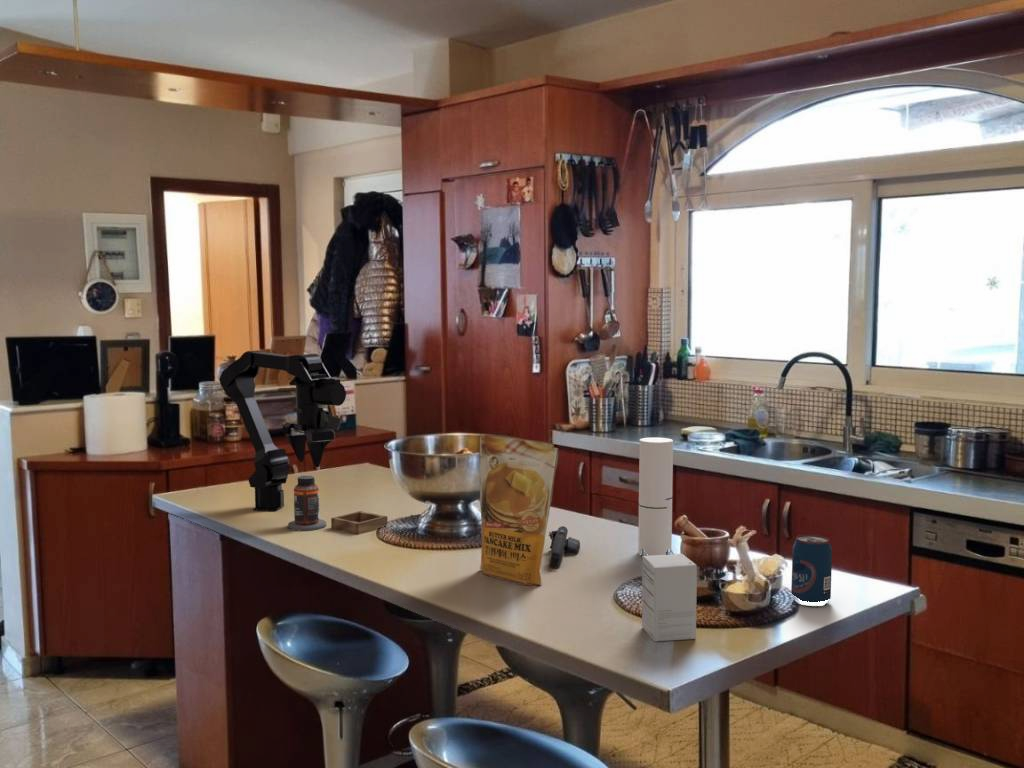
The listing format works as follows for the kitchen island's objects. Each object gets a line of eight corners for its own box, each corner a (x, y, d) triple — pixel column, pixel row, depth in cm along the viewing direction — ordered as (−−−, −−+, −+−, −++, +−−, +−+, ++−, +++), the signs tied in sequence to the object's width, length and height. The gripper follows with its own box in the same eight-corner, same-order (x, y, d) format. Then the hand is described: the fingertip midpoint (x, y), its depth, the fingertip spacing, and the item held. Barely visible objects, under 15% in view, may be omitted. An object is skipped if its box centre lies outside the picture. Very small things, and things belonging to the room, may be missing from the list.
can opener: (551, 547, 220) (551, 522, 220) (582, 549, 219) (582, 524, 218) (536, 569, 203) (536, 542, 202) (570, 571, 202) (570, 544, 201)
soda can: (783, 601, 181) (785, 537, 180) (806, 594, 185) (808, 531, 184) (815, 611, 176) (817, 545, 175) (838, 603, 180) (840, 539, 179)
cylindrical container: (678, 553, 214) (679, 440, 211) (657, 559, 209) (658, 443, 207) (652, 547, 219) (653, 436, 217) (631, 553, 214) (632, 439, 212)
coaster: (283, 530, 235) (283, 526, 235) (295, 521, 244) (295, 518, 244) (319, 531, 234) (319, 527, 234) (330, 522, 243) (330, 519, 243)
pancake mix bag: (490, 564, 206) (489, 431, 203) (560, 582, 193) (561, 441, 191) (467, 571, 201) (466, 435, 198) (538, 590, 188) (539, 445, 186)
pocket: (331, 528, 237) (331, 518, 237) (360, 520, 244) (360, 511, 244) (358, 534, 231) (358, 523, 231) (387, 526, 239) (387, 516, 238)
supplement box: (682, 624, 169) (683, 552, 167) (696, 640, 161) (698, 564, 160) (640, 627, 168) (641, 554, 166) (653, 642, 160) (654, 566, 159)
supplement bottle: (324, 521, 241) (323, 475, 240) (310, 526, 235) (310, 479, 234) (303, 519, 243) (302, 473, 242) (289, 524, 237) (288, 478, 236)
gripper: (353, 404, 246) (354, 466, 247) (321, 398, 261) (322, 456, 262) (312, 408, 239) (313, 471, 241) (281, 401, 254) (282, 460, 256)
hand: (309, 464), depth 250 cm, fingers open, 9 cm apart
